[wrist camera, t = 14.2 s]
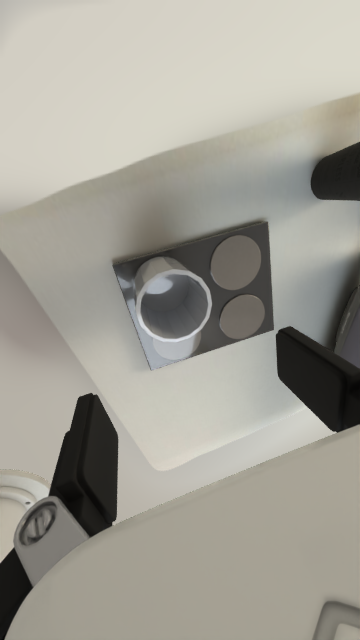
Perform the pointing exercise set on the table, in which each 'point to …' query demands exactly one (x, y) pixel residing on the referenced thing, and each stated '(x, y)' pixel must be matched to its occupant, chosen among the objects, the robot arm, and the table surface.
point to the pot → (170, 300)
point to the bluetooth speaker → (350, 331)
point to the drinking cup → (338, 175)
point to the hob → (214, 291)
